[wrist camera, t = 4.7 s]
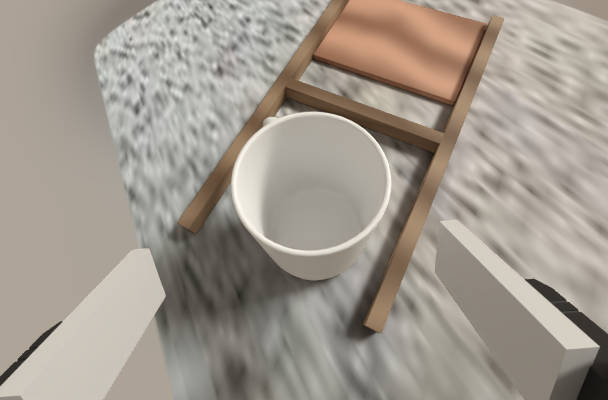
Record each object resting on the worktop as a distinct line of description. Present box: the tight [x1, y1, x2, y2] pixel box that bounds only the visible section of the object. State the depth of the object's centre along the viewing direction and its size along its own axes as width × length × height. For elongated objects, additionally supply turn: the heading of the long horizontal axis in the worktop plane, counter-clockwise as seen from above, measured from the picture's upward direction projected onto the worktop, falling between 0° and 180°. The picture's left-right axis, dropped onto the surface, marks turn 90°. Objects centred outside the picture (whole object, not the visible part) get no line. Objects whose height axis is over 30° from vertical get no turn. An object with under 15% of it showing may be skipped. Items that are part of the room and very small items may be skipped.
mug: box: [231, 112, 391, 280], centre depth 21 cm, size 9×12×11 cm
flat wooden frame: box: [178, 0, 504, 333], centre depth 29 cm, size 35×18×2 cm, turn 152°
